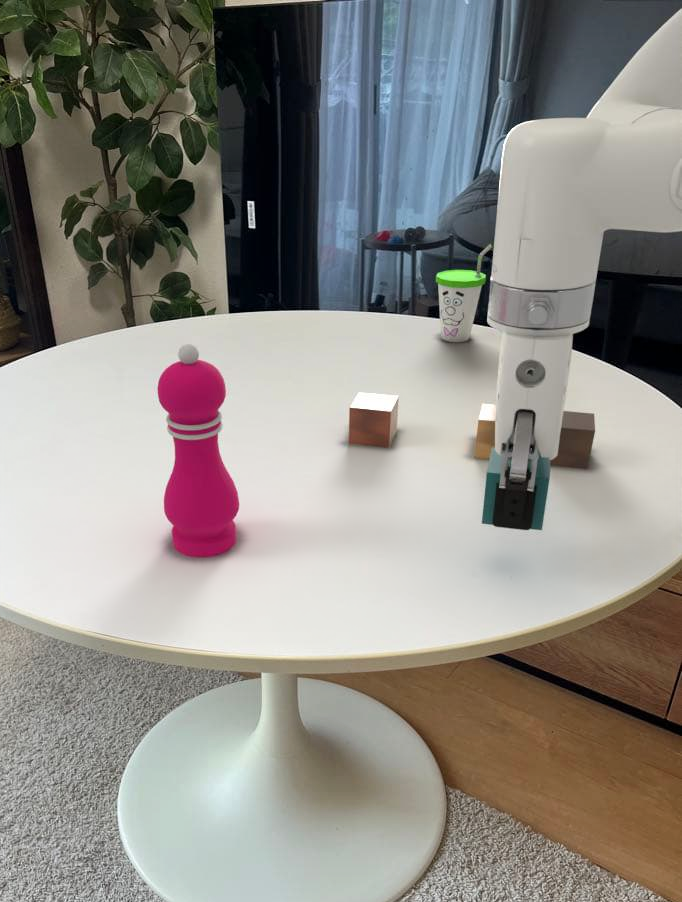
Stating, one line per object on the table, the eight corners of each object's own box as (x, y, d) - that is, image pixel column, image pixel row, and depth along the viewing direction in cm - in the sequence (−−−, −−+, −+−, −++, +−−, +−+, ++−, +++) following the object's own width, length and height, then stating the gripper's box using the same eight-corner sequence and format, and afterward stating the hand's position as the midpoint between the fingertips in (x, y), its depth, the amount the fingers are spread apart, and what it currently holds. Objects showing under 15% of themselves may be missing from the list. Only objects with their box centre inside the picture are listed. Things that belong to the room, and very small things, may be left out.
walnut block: (586, 453, 93) (594, 413, 90) (587, 471, 89) (595, 430, 86) (542, 448, 94) (548, 409, 91) (540, 466, 90) (547, 426, 87)
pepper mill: (248, 526, 80) (238, 332, 70) (232, 565, 74) (218, 359, 64) (180, 521, 81) (160, 330, 71) (158, 559, 75) (133, 356, 65)
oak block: (520, 446, 95) (526, 407, 92) (518, 464, 91) (524, 424, 88) (477, 442, 96) (482, 403, 93) (473, 459, 92) (478, 419, 89)
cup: (423, 342, 129) (429, 246, 121) (443, 329, 134) (450, 237, 127) (468, 350, 125) (478, 251, 117) (486, 336, 131) (497, 242, 123)
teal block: (543, 502, 71) (551, 452, 68) (541, 530, 67) (549, 478, 64) (486, 496, 72) (491, 447, 70) (481, 523, 68) (486, 472, 66)
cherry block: (396, 433, 99) (398, 395, 96) (389, 450, 95) (391, 411, 92) (357, 429, 100) (358, 392, 97) (348, 445, 96) (349, 407, 93)
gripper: (594, 340, 52) (556, 568, 62) (590, 276, 66) (559, 471, 75) (477, 335, 54) (458, 556, 64) (497, 274, 68) (479, 464, 77)
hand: (513, 508), depth 69 cm, fingers closed on teal block, 5 cm apart
